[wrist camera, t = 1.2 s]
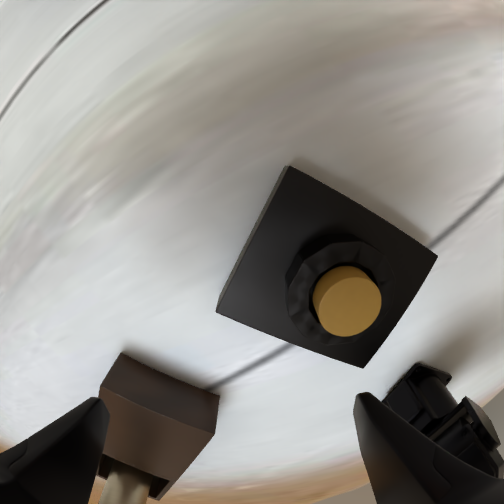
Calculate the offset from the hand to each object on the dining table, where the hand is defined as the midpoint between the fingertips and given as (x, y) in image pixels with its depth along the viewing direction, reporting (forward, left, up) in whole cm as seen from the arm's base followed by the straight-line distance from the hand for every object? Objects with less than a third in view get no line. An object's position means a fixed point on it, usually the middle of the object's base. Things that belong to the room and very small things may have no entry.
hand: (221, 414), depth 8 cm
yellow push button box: (-5, -3, -12) cm, 13 cm away
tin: (+1, +26, -12) cm, 29 cm away
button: (-5, -3, -8) cm, 10 cm away
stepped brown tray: (+1, +20, -12) cm, 24 cm away
